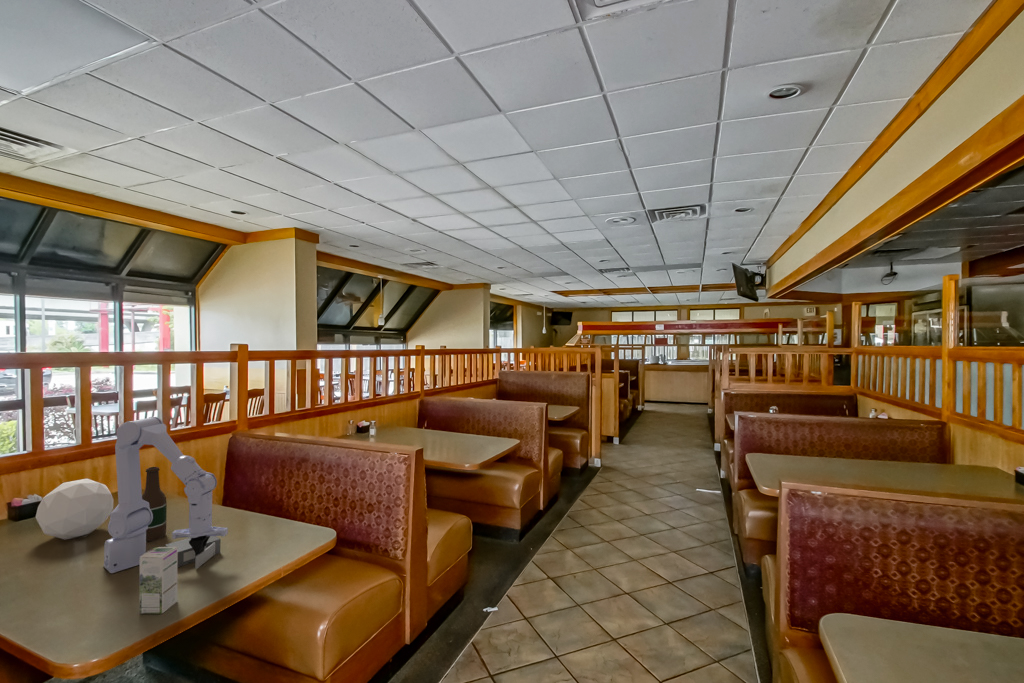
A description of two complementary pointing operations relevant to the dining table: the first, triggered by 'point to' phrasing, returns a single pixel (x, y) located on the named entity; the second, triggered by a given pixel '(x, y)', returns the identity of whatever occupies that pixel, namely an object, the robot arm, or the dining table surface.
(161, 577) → the syrup box
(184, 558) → the camera body
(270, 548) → the dining table surface
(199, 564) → the side door
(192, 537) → the robot arm
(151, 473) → the beer bottle
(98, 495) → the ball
